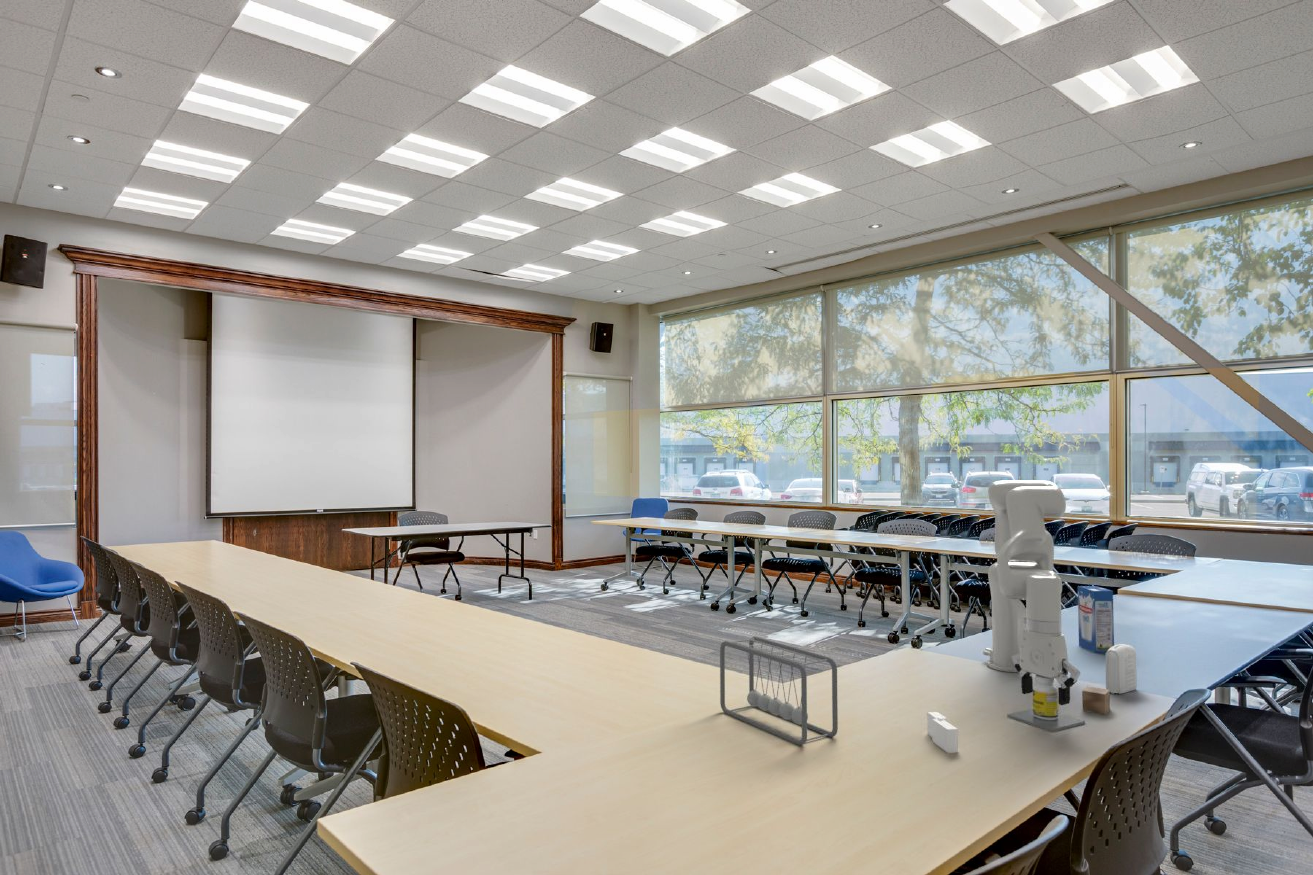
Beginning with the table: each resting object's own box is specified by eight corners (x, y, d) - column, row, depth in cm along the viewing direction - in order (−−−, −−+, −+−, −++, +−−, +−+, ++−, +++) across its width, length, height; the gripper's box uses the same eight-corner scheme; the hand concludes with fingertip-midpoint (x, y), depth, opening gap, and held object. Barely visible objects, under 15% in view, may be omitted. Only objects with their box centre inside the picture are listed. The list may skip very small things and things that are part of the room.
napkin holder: (965, 760, 162) (964, 732, 162) (909, 749, 168) (909, 723, 168) (976, 738, 175) (976, 712, 175) (924, 729, 180) (924, 704, 181)
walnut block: (1082, 710, 193) (1082, 690, 193) (1087, 705, 196) (1087, 686, 197) (1105, 714, 189) (1104, 694, 190) (1110, 710, 193) (1109, 689, 193)
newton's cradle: (838, 739, 173) (838, 658, 174) (804, 748, 167) (803, 665, 168) (751, 704, 198) (751, 634, 199) (719, 711, 193) (719, 639, 193)
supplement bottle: (1028, 713, 188) (1027, 673, 188) (1049, 713, 188) (1048, 672, 189) (1041, 721, 183) (1040, 679, 183) (1063, 720, 183) (1062, 678, 183)
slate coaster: (1007, 716, 188) (1007, 714, 188) (1039, 709, 193) (1039, 706, 193) (1052, 731, 177) (1052, 729, 177) (1085, 723, 183) (1085, 720, 183)
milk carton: (1114, 652, 251) (1113, 590, 251) (1095, 652, 251) (1093, 590, 252) (1097, 645, 261) (1096, 586, 261) (1078, 645, 261) (1077, 586, 262)
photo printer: (1122, 685, 214) (1121, 640, 214) (1139, 689, 210) (1138, 643, 211) (1103, 691, 208) (1102, 645, 209) (1120, 695, 205) (1119, 648, 205)
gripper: (1002, 621, 192) (1003, 691, 191) (1067, 635, 177) (1069, 711, 176) (1022, 618, 196) (1023, 687, 195) (1088, 631, 180) (1089, 706, 180)
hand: (1045, 698), depth 186 cm, fingers open, 9 cm apart
